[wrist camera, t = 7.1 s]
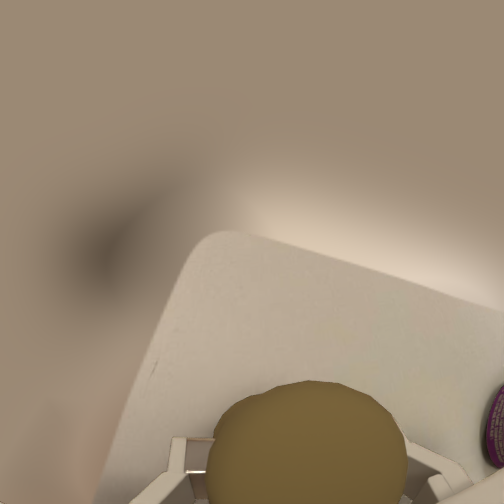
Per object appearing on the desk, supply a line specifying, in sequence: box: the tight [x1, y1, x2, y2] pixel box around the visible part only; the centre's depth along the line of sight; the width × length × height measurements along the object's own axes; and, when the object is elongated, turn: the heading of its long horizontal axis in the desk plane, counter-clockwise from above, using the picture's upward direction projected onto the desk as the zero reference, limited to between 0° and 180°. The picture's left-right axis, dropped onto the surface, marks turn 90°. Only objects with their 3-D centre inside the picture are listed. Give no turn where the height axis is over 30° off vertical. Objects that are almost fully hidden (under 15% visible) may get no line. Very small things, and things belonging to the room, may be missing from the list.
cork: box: [204, 380, 408, 504], centre depth 10 cm, size 6×6×11 cm
